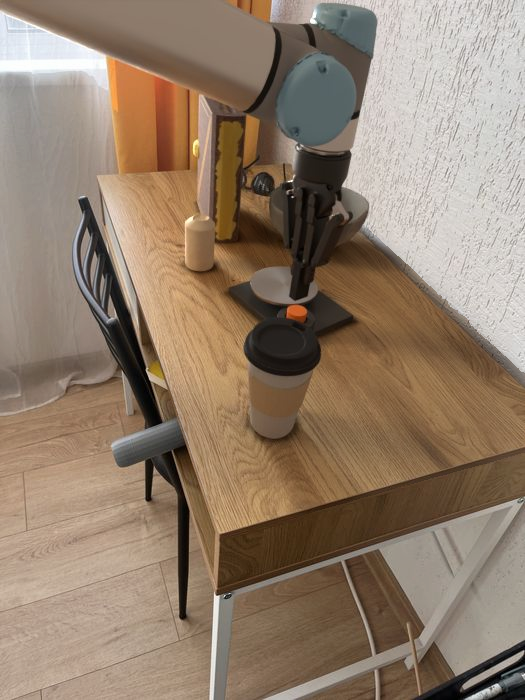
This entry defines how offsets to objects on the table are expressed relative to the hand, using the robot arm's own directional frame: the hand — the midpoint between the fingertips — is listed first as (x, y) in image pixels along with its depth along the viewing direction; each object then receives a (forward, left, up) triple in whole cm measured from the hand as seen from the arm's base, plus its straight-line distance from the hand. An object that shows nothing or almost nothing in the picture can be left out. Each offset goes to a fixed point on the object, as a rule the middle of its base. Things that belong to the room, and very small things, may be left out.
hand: (298, 296), depth 83 cm
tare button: (0, 0, -5) cm, 5 cm away
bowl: (-22, +24, -7) cm, 33 cm away
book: (-41, +12, -7) cm, 43 cm away
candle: (-26, -2, -7) cm, 27 cm away
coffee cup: (+14, -16, -7) cm, 22 cm away
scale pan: (-8, +4, -4) cm, 10 cm away
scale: (-6, +4, -7) cm, 10 cm away
